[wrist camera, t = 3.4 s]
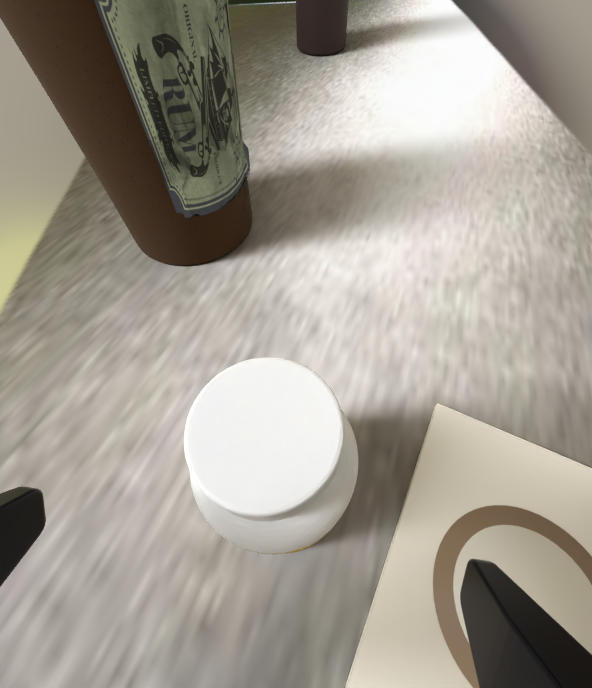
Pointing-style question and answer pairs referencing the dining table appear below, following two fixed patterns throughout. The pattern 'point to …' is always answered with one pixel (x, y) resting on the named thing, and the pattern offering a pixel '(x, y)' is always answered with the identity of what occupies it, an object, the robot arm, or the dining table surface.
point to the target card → (475, 550)
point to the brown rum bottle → (149, 113)
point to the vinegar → (321, 26)
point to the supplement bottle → (270, 455)
